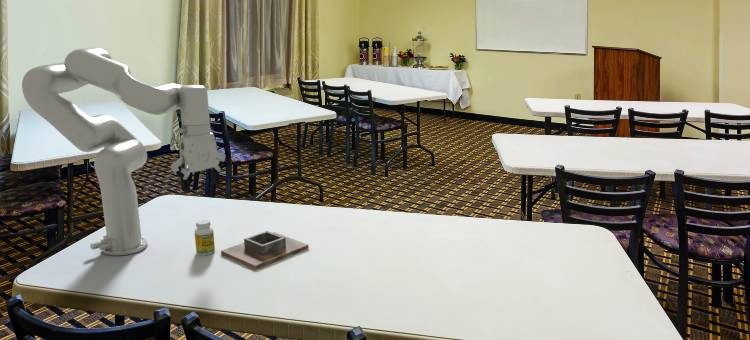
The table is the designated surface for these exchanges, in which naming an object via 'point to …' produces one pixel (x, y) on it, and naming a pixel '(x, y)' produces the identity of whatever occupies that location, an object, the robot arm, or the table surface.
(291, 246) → the board with square frame
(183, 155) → the robot arm
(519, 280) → the table surface
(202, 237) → the supplement bottle
